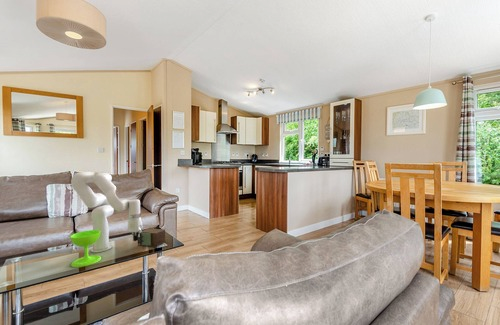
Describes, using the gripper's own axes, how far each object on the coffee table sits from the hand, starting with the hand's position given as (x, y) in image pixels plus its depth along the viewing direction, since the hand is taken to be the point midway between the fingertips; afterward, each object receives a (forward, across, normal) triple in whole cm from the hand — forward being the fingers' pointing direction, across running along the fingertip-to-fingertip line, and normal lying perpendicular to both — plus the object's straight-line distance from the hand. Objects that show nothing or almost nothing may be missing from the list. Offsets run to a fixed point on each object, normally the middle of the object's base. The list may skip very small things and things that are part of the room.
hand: (135, 240), depth 168 cm
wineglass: (+5, -13, -28) cm, 31 cm away
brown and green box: (+5, +6, +10) cm, 13 cm away
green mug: (+5, +5, +2) cm, 7 cm away
